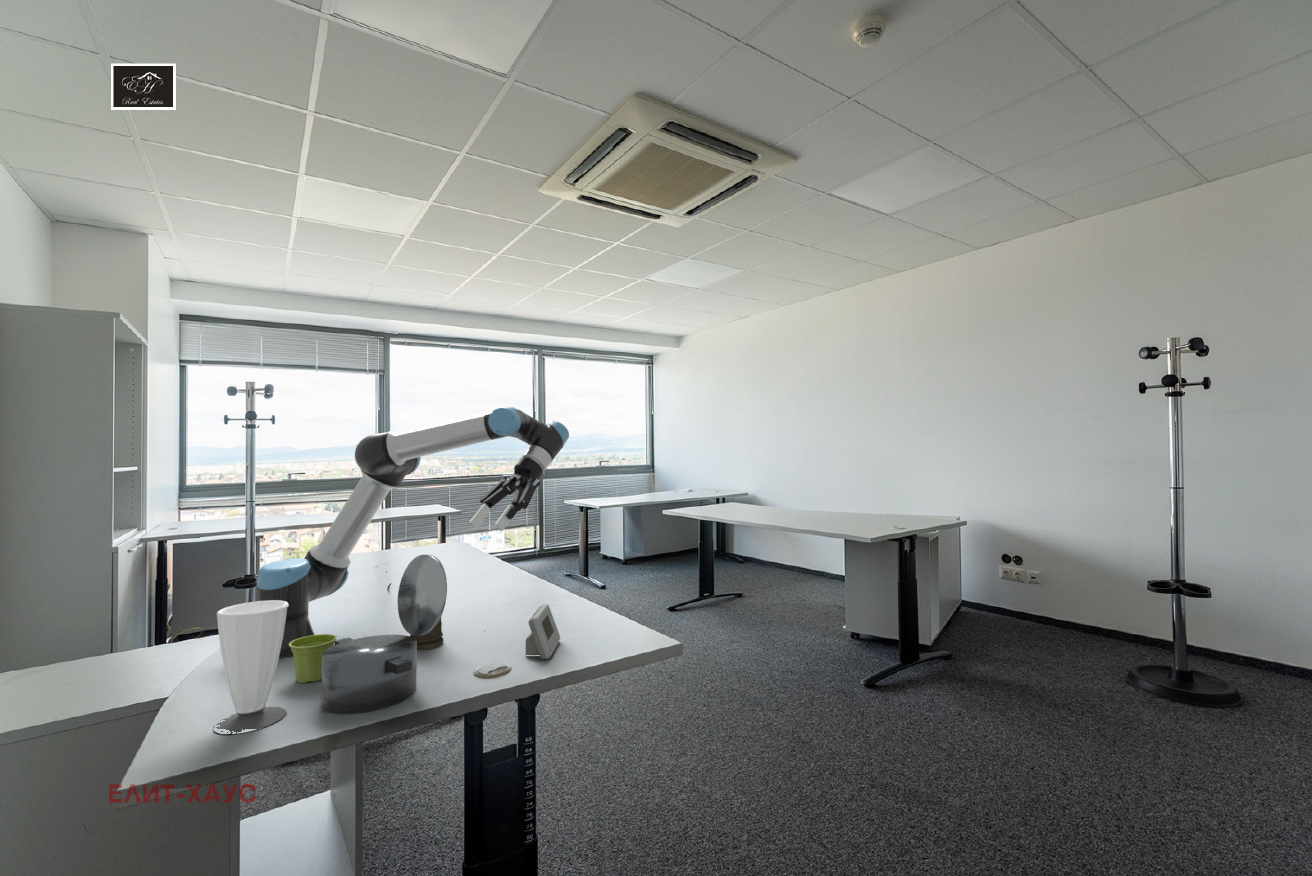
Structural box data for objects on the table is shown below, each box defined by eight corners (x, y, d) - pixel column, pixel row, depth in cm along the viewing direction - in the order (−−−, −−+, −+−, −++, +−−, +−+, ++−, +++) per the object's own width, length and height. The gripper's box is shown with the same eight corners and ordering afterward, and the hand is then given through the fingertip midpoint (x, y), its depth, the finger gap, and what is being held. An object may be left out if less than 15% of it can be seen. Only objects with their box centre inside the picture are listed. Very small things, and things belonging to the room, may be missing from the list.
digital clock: (547, 662, 136) (547, 618, 137) (514, 660, 138) (514, 617, 138) (570, 642, 152) (570, 602, 152) (540, 640, 154) (540, 601, 154)
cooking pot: (296, 694, 118) (297, 647, 119) (380, 669, 133) (381, 627, 133) (357, 728, 102) (358, 673, 103) (444, 695, 117) (445, 647, 117)
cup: (263, 733, 101) (266, 613, 102) (196, 736, 100) (200, 615, 101) (299, 706, 112) (301, 599, 113) (239, 709, 111) (242, 600, 112)
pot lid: (405, 551, 134) (413, 552, 136) (391, 628, 131) (400, 628, 132) (448, 558, 123) (456, 558, 125) (434, 642, 120) (443, 641, 122)
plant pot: (345, 673, 130) (345, 636, 131) (308, 688, 121) (309, 648, 122) (315, 669, 133) (316, 632, 134) (278, 683, 124) (278, 644, 125)
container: (433, 650, 146) (434, 581, 147) (401, 650, 147) (402, 581, 148) (449, 640, 155) (450, 575, 156) (418, 639, 156) (419, 575, 157)
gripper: (567, 474, 151) (522, 538, 138) (513, 474, 165) (468, 533, 151) (553, 454, 147) (505, 518, 134) (499, 456, 161) (450, 515, 147)
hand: (485, 526), depth 142 cm, fingers open, 10 cm apart
